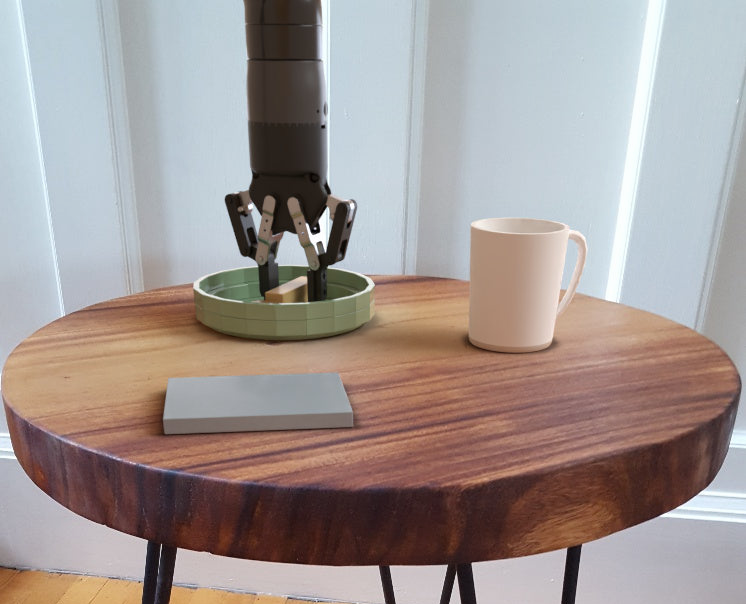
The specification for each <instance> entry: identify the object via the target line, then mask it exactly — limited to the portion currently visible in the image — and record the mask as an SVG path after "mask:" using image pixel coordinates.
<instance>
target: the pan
mask: <svg viewBox="0 0 746 604" xmlns="http://www.w3.org/2000/svg"><path fill="white" fill-rule="evenodd" d="M307 270H310V267H309V265H307V264H306V265H304V264H278V274H279V286H281V285H283V284H285V283H287V282H290V281H292V280H294V279H296V278H299V277H301V276H305V277H307ZM192 290H193V300H194V302H193V303H194V311H195V312H194V313H195V319H196V320H198V322H200V323H201V324H202V325H204V326H207V327H209V328H210V329H212V330H214V331H215V332H218V333H220V334H225V335H227V336H232V337H238V338H245V339H251V340H263V341H299V340H301V341H302V340H312V339H322V338H328V337H333V336H337V335H342V334H345V333H349V332H351V331H354V330H357V329H358V328H360V327H361V326H362V325H364V324H365V323H367V322H370V321H371V320H372V319H373V317H374V315H375V311H376V310H375V306H376V303H375V302H376V301H375V300H376V284H375V283H374V281H373V279H372V278H371V277H369V276H366V275H364V274H362V273H360V272H357V271H352V270H348V269H343V268H339V267H338V268H336V267H330V266H328V268H327V297H326V300H325V301H317V302H307V303H257V302H252V301H259V300H264V297H261V294H260V290H259V272H258V265H254V266H253V265H251V266H241V267H236V268H230V269H223V270H219V271H215V272H212V273H209V274H205V275H202V276H201V277H199V278H198V279H196V280H195V281H193V287H192Z"/></svg>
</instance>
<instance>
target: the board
mask: <svg viewBox="0 0 746 604" xmlns="http://www.w3.org/2000/svg"><path fill="white" fill-rule="evenodd" d="M165 392H166V393H165V400H164V407H163V415H162V422H163V423H162V425H163V432H164V435H186V434H188V435H189V434H209V433H211V434H212V433H213V434H214V433H234V432H261V431H263V432H264V431H285V430H286V431H287V430H288V431H289V430H313V429H336V428H337V429H338V428H354V411H353V407H352V405H351V403H350V400H349V397H348V395H347V392H346V389H345V386H344V384H343V380H342V378H341V376H340V373H339V372H337V371H335V372H309V373H308V372H307V373H305V372H304V373H278V374H277V373H275V374H274V373H273V374H247V375H246V374H245V375H218V376H217V375H216V376H213V375H211V376H185V377H184V376H183V377H181V376H180V377H168V378H167V383H166V391H165Z"/></svg>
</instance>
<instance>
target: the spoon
mask: <svg viewBox="0 0 746 604" xmlns="http://www.w3.org/2000/svg"><path fill="white" fill-rule="evenodd" d="M252 302H257V303H307V302H308V292H307V277H305V276H301V277H299V278H296V279H294V280H292V281H290V282H287V283H285V284H283V285H281V286H279V287H276V288H274V289H272V290H270V291H267V292H265V300H259V301H252Z"/></svg>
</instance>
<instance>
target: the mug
mask: <svg viewBox="0 0 746 604" xmlns="http://www.w3.org/2000/svg"><path fill="white" fill-rule="evenodd" d="M469 237H470V242H469V243H470V244H469V295H468V296H469V297H468V340H469V342H470V343H471V344H472V345H473V346H475V347H477V348H480V349H483V350H487V351H493V352H500V353H514V354H515V353H517V354H518V353H519V354H522V353H532V352H533V353H534V352H538V351H542V350H545V349H547V348H549V347H550V345H551V344H552V342H553V338H554V331H555V325H556V319H558V318H559V317H560V316H561V315H562V314H563V313H564V312H565V311H566V310H567V308H568V307H569V304H570V303H571V301H572V300H573V298H574V296H575V294H576V291H577V289H578V287H579V284H580V282H581V279H582V277H583V272H584V269H585V267H586V262H587V258H588V257H587V255H588V251H589V249H588V245H587V238H586V237H585V236H584V235H583V233H581V232H580V231H579V230H578V231H577V230H574V229H571V227H570V226H569V225H568V224H566V223H564V222H560V221H557V220H549V219H543V218H535V217H534V218H532V217H490V218H483V219H478V220H474V221H473V222H471V223H470V236H469ZM569 240H571V241H573V242H574V243H575V244H576V246H577V258H576V264H575V266H574V270H573V273H572V276H571V280H570V281H569V284H568V287H567V289H566V291H565V294H564V295H563V297H562V299H561V300H560V302H559V299H560V294H561V288H562V281H563V276H564V269H565V262H566V257H567V250H568V242H569Z"/></svg>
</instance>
